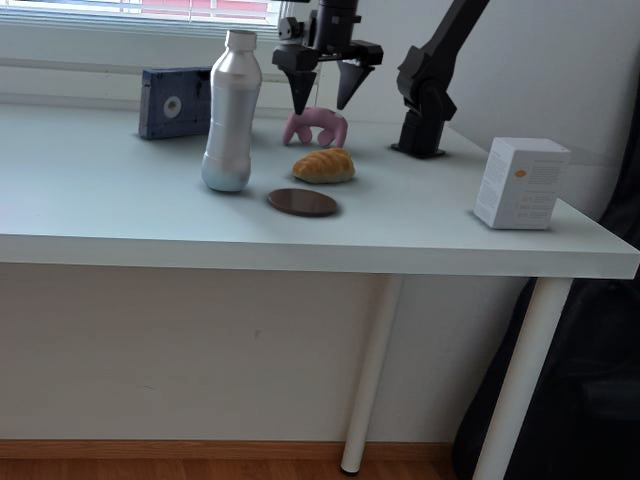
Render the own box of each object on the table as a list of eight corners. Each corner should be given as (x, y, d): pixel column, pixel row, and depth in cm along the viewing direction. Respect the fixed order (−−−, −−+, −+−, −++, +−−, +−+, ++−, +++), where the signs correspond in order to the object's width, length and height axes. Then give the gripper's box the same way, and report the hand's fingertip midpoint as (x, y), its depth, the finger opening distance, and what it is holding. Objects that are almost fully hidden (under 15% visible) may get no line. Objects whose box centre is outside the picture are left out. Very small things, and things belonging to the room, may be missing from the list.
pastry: (313, 189, 117) (318, 162, 115) (278, 175, 122) (282, 148, 120) (357, 179, 123) (362, 153, 121) (322, 166, 127) (326, 140, 125)
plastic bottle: (234, 200, 111) (256, 39, 100) (189, 188, 113) (206, 30, 103) (256, 188, 115) (278, 33, 105) (212, 176, 118) (230, 25, 108)
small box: (526, 214, 115) (550, 138, 110) (547, 230, 111) (574, 151, 105) (471, 213, 114) (493, 135, 109) (490, 229, 109) (514, 148, 104)
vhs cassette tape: (229, 125, 142) (237, 63, 137) (240, 130, 140) (248, 68, 135) (135, 134, 133) (140, 68, 128) (145, 139, 131) (150, 73, 126)
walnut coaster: (302, 188, 117) (303, 184, 117) (350, 210, 111) (351, 206, 111) (253, 197, 112) (254, 193, 112) (301, 221, 106) (302, 216, 106)
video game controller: (342, 159, 136) (352, 115, 135) (341, 153, 132) (351, 108, 131) (282, 148, 138) (291, 105, 138) (278, 142, 134) (289, 98, 133)
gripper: (341, -5, 136) (324, 95, 143) (254, -3, 125) (240, 104, 133) (395, 7, 128) (374, 112, 136) (307, 10, 118) (289, 123, 126)
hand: (319, 112), depth 133 cm, fingers open, 9 cm apart
